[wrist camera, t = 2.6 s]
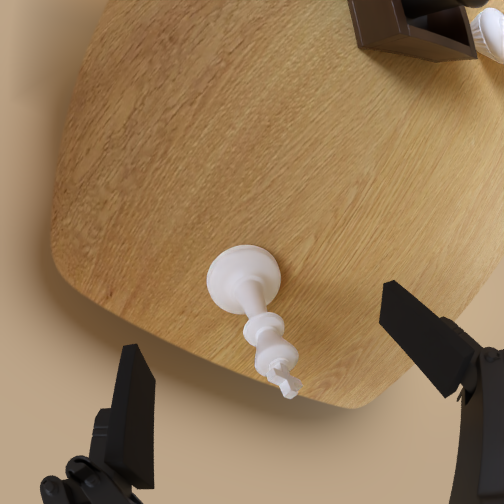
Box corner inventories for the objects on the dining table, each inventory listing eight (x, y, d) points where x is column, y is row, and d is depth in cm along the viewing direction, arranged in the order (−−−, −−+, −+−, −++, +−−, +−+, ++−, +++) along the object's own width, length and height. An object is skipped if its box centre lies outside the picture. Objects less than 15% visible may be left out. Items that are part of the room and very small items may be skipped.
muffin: (480, 16, 14) (529, 12, 8) (496, 67, 16) (546, 70, 10) (450, 7, 13) (505, -2, 7) (470, 66, 16) (528, 66, 10)
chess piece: (239, 229, 18) (293, 328, 9) (293, 271, 20) (367, 371, 11) (191, 286, 19) (203, 411, 10) (247, 320, 21) (288, 436, 12)
